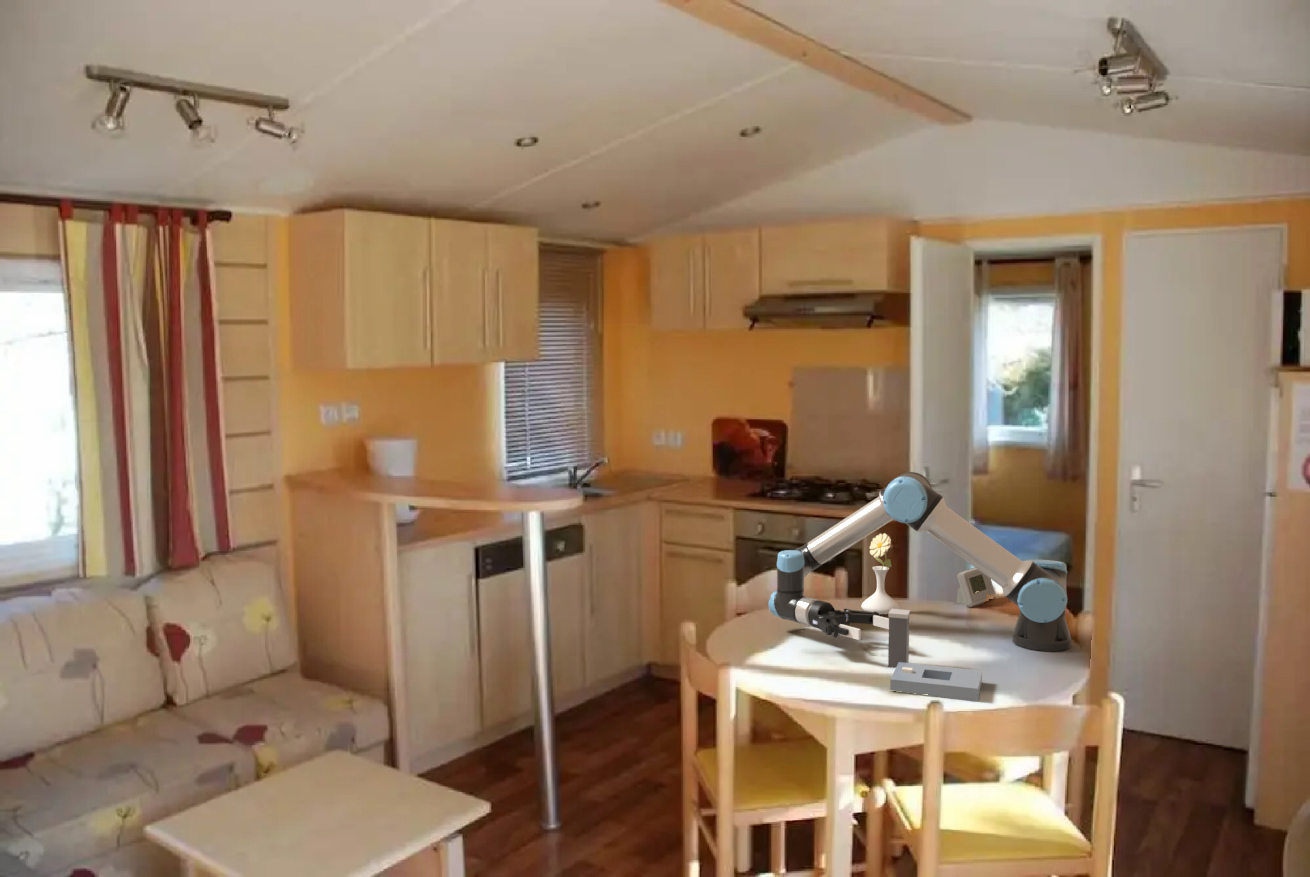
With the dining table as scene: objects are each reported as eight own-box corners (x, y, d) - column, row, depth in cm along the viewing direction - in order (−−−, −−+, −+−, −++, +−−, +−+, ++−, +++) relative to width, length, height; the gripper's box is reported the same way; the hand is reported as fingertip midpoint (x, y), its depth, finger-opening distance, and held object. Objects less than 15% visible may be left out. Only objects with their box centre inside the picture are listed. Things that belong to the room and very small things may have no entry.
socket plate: (981, 682, 260) (982, 667, 260) (977, 701, 247) (978, 685, 247) (898, 673, 267) (898, 659, 267) (890, 691, 254) (890, 676, 254)
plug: (909, 663, 276) (910, 610, 274) (906, 669, 271) (907, 614, 270) (890, 661, 277) (891, 608, 276) (887, 667, 273) (888, 613, 271)
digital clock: (968, 609, 328) (969, 575, 327) (946, 603, 336) (947, 569, 335) (1004, 601, 337) (1004, 568, 336) (981, 595, 345) (982, 563, 344)
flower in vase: (856, 608, 330) (857, 528, 327) (892, 607, 331) (893, 527, 329) (869, 619, 317) (870, 536, 314) (906, 618, 318) (908, 535, 316)
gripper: (845, 618, 303) (906, 635, 287) (784, 635, 287) (844, 653, 271) (846, 592, 302) (907, 607, 286) (784, 607, 287) (845, 624, 270)
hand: (877, 630), depth 278 cm, fingers open, 13 cm apart
